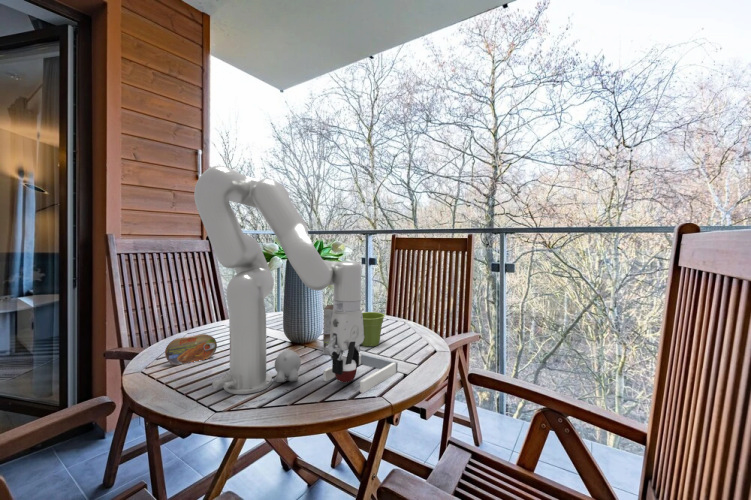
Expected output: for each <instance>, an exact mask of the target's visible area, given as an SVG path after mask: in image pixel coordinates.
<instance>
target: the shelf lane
mask: <svg viewBox="0 0 751 500" xmlns="http://www.w3.org/2000/svg"><path fill="white" fill-rule="evenodd" d="M360 365H364V366H369V367H372V368H375V369H379V370H377V371H376V372H374V373H372V374H369V375H368V376H366V377H364V378H363V379H361V380H360V381H359V392H360V393H362V394H365V392H367V391H369V390H371V389H372V388H374V387H376V386H377V385H378V384H381V383H382V382H383V381H385V380H387V379H388V378H390V377H391V376H393V375H394V374H397V373H398V365H399V364H398V362H397V361H394V360H389V359H386V358H381V357H377V356H373V355H369V354H365V353H359V366H360ZM322 375H323V376H322V377H323V378H322V380H323V381H324V382H328V381H330V380H332V379H334V378H336V376H335V373H333V372H332V366H330V367H328V368H325V369H323V374H322Z"/></svg>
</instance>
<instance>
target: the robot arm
mask: <svg viewBox="0 0 751 500" xmlns="http://www.w3.org/2000/svg"><path fill="white" fill-rule="evenodd" d="M193 195H194V203H195V207H196V209H197V212H198V215H199V217H200V219H201V222H202V224H203V226H204V229H205V232H206V235H207V237H208V239H209V242H210V244H211V247H212V249H213V252H214V254H215V257H216V259H217V261H218V262H219V264H220V265H221V266H223V267H224V268H226V269H234V270H235V273H236V274H235V275H234V276H233V277H232V278H230V280H229V282H228V283H227V288H226V293H225V294H226V301H227V308H228V319H229V321H228V322H229V323H228V326H229V370H228V371H226V372H225V375H224V376H223V378H219V379H216V380H213V382H212V385H211V386H212V387H213V389H218V388H219V389H220V387H223V389H224V391H225V392H227V393H229V394H233V395H248V394H254V393H257V392H261V391H263V390H266V389H268V387H270V386H271V385H272V384H273V377H272V376H271V375H270V374H269V373H267V313H266V306H265V299H266V298H267V297H268V296H270V295H271V293H272V292H273V289H274V285H275V284H274V278H273V274H272V271H271V269H270V267H269V264H268V262H267V260H266V257H265V255H264V252H263V249H262V248H261V245H260V244H259V242H258V241H257V239H255V238H254V236H253V237H252V236H251V235H249V234H244V231H243V229H242V227H241V225H240V222H239V220H238V217H237V216H236V212H234V210H233V208H232V206H231V203H230V202H232V203H237V204H240V205H245V206H246V207H247V206H249V207H252V208H256V209H258V211H259V212H260V214H261V215H262V216H263V218H264V220H265V221H266V222H267V224H268V226H269V227H270V229H271V230H272V232H273V233H274V235H275V237H276V238H277V239H278V242H279V245H280V247H281V248H282V251H283V252H284V254H285V256H286V258H287V260H288V262H289V264H290V265H291V266H292V268H293V269H294V271H295V273H296V274H297V276H298V277H299V278H300V281H302V283H303V284H304V286H306V287H307V288H308V289H311V290H313V291H322V290H324V289H326V288H327V287H328V286H333V302H332V303H333V304H332V305H333V311H334V312H333V314H332V320H331V329H330V342H329V344H328V346H327V347H326V351H327V352H328V353H329V357H330V359H331V360H332V361H331V363H332V365H331V367H332V372H333V373H335V374H339V375H342V374H343V360H341V358H342V357H343V354H344V352H345V351H348V349H349V344H350V342H354V341H355V342H356V343H355V348H354V353H353V358H352V360H355V362H356V367H357V368H358V367H359V366H360V365H359V354H360V352H361V347H362V346H363V345H362V343H363V340H364V328H363V316H362V313H363V312H362V309H361V305H362V304H361V299H362V298H361V297H362V295H361V294H362V293H361V292H362V265H361V264H360V263H359V262H357V261H350V260H349V261H348V260H342V261H332V260H326V259H325V260H324V259H323V258H322V257H321V255H320V253H319V252H318V250H317V249H316V247H315V245H314V243H313V242H312V240H311V238H310V235H309V231H308V227H307V224H306V222H305V221H304V219H303V217H302V216H301V215H300V213H299V212H298V210H297V209H296V207H295V206H294V204H293V202H292V200H291V198H290V195H289V192H288V190H287V189H286V187H285V186H284V185H282V184H281V183H279V182H278V181H277V180H275V179H272V178H263V179H258V178H255V177H251V176H248V175H245V174H242V173H240V172H238V171H236V170H234V169H233V168H230V167H227V166H224V165H223V166H222V165H217V166H216V165H215V166H212V167H209V168H208V169H206V170H204V172H202V174H201V175H200V176H199V178H198V180H197V182H196V184H195V186H194V193H193ZM338 346H339V348H338ZM337 350H339V354H337V353H336V352H337Z"/></svg>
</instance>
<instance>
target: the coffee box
mask: <svg viewBox="0 0 751 500" xmlns="http://www.w3.org/2000/svg"><path fill="white" fill-rule="evenodd" d="M333 312H334V311H333V304H327V305H326V306H325V307H324V309H323V330H322V331H323V335H322V337H323V338H322V339H323V341H322V344H323V345H322V346H323V348H322V349H323V350H322V355H326V356H327V355H329V353H328V352H327V351H326V347H327V346H328V344H329V342H330V329H331V320H332V314H333ZM338 348H339V346H338ZM336 353H337V354H339V350H337V352H336ZM329 356H330V355H329Z"/></svg>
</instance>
